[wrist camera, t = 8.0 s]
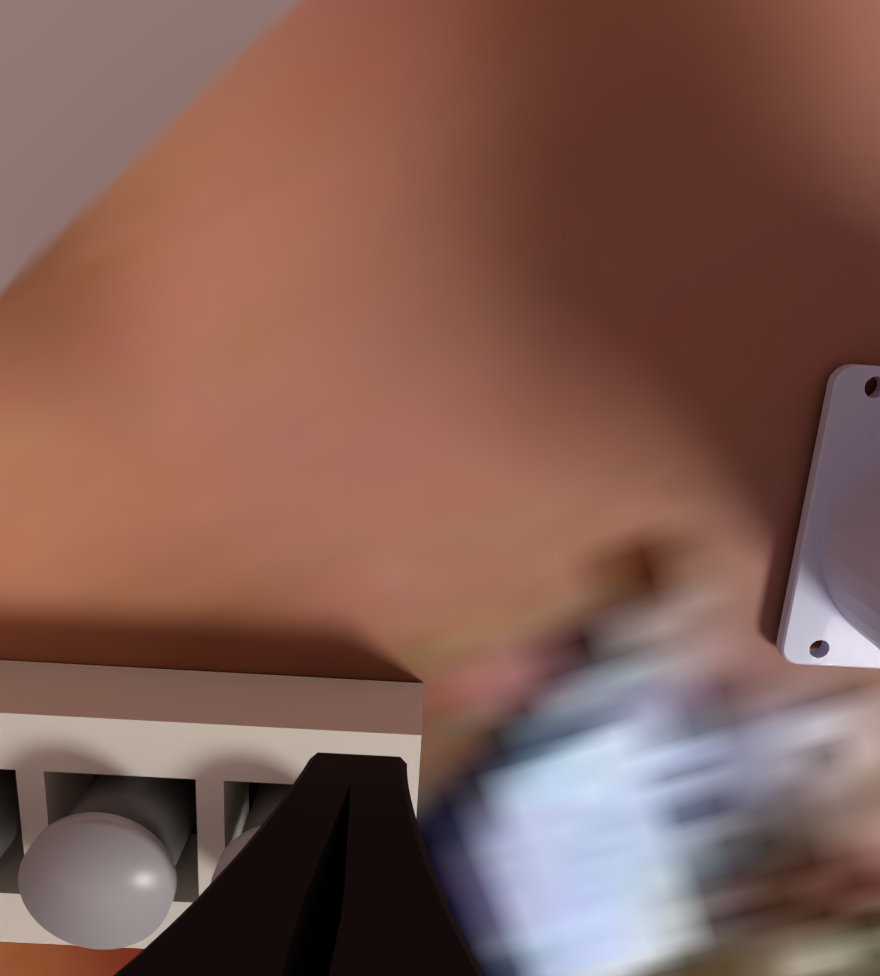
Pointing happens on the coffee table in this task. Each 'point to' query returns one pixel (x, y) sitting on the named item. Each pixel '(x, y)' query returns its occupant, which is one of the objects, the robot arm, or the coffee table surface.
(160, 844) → the knob middle
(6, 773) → the knob
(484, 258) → the coffee table surface
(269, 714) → the knob board
